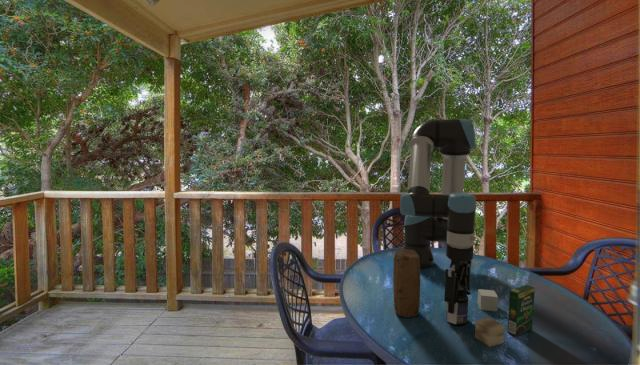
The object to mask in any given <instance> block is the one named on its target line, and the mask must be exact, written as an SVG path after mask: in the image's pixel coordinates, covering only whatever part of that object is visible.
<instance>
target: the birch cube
mask: <svg viewBox="0 0 640 365" xmlns="http://www.w3.org/2000/svg"><path fill="white" fill-rule="evenodd" d="M474 330H475V332H474V334H475V335H474V336H475V338H476V339H477V340H479V341H480V342H482V343H483V344H484V345H486V346H487V347H490V348H491V347H494V346H497V345H501V344H504V341H505V340H504V339H505V325H504V324H502V323H500V322H498V321H497V320H495V319H493V318H492V317H486V318H485V317H484V318H481V319H477V320H475V329H474Z"/></svg>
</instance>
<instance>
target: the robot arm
mask: <svg viewBox="0 0 640 365" xmlns="http://www.w3.org/2000/svg"><path fill="white" fill-rule="evenodd" d="M474 127H475V126H474V123H473V121H472V120H471V119H468V118H467V119H466V118H450V119H430V120H427V121H425V122H422V123H421V124H420V125H418V126H417V127H416V128H415V129H414V131H413V132H412V133H411V135H410V137H409V140H408V150H409V151H410V156H409V157H410V158H409V168H408V169H409V170H408V179H407V192H404V193H401V194H400V198H399V199H400V200H399V209H400V214H401V215H403V216H404V223H403V226H404V229H403V230H404V233H403V247H402V249H412V250H414V251H416V252H417V254H418V255H419V257H420V269H425V268H430V267H433V266H434V265H435V258H434V255H433V251H432V247H431V243H432V242H435V243H446V248H445V256H446V257H447V258H448V259H450V264H449V269H447V268H446V269H445V286H444V296H443V298H444V299H443V300H444V302H445V303H447V302H448V308H447V319H446V322H448V323H450V322H451V323H450V324H452V323H453V324H452V325H455V324H457V309H458V303H457V302H456V301H457V295H458V289H459V284H461V285H464V286H465V287H466V293H465V294H466V295H467V296H470V295H471V274H472V273H471V269H472V268H471V267H472V261H473V259H474V251H475V250H474V247H473V246H474V244H475V240H476V236H475V226H476V225H475V224H476V223H475V222H476V209H477V203H476V201H477V198H476V196H475V195H474V194H472V193H467V192H464V187H465V176H466V172H465V171H466V159H467V157H468V156H469V155H470V154H471V150H474V149H475V148H476V134H475V128H474ZM434 149H439V154H440V155H441V156H442V157H443V158H442V160H443V161H442V179H441V194H433V193H432V194H431V164H432V163H431V160H432V151H433V150H434Z"/></svg>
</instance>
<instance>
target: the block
mask: <svg viewBox="0 0 640 365" xmlns="http://www.w3.org/2000/svg"><path fill="white" fill-rule="evenodd" d="M393 258H394V259H393V269H392V270H393V271H392V272H393V275H392V276H393V277H392V278H393V280H392V281H393V282H392V286H393V288H392V290H393V306H394V312H395V313H396V315H398V316H400V317H404V318H413V317H415V316H418V315H419V311H420V307H421V306H420V304H421V302H420V300H421V268H420V257H419V255H418V254H417V252H416V251H414V250H412V249H403V248H402V249H397V250H396V251H395V253H394V257H393Z"/></svg>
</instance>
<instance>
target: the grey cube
mask: <svg viewBox="0 0 640 365" xmlns="http://www.w3.org/2000/svg"><path fill="white" fill-rule="evenodd" d="M477 305H478V307H479V309H480V310H479V311H489V312H498V306H499V296H498V295H497V293H496V291H495V290H492V289H482V288H480V289H477Z"/></svg>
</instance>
